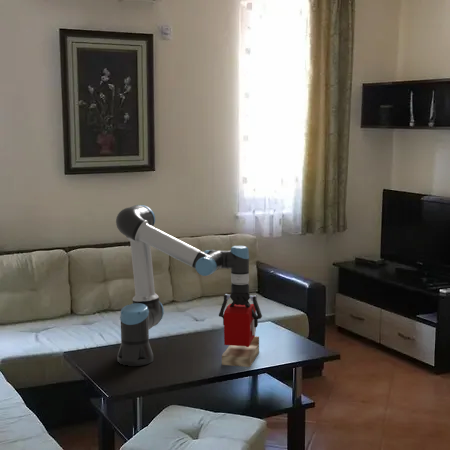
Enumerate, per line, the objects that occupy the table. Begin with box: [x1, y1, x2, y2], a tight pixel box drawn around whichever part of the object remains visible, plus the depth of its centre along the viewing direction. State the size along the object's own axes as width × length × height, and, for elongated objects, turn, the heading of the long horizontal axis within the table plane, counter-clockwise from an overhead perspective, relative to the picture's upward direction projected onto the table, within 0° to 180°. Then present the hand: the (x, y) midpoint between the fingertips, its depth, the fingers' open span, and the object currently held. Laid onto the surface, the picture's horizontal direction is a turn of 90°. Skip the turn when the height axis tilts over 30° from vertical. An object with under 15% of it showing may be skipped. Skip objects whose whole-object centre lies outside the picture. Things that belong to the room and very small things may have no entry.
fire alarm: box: [223, 303, 257, 347], centre depth 291 cm, size 16×11×15 cm
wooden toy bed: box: [221, 335, 260, 368], centre depth 295 cm, size 12×20×7 cm, turn 166°
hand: (240, 333), depth 292 cm, fingers closed on fire alarm, 11 cm apart
